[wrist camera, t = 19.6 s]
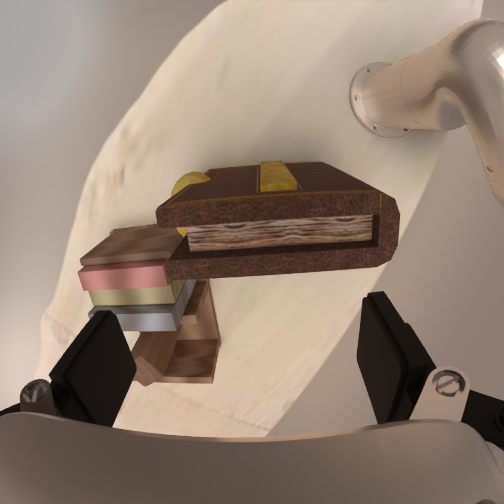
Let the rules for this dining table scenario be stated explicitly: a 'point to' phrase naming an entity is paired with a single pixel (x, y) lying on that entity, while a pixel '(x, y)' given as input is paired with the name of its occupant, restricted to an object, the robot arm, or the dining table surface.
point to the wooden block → (153, 354)
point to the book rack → (154, 297)
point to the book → (277, 221)
